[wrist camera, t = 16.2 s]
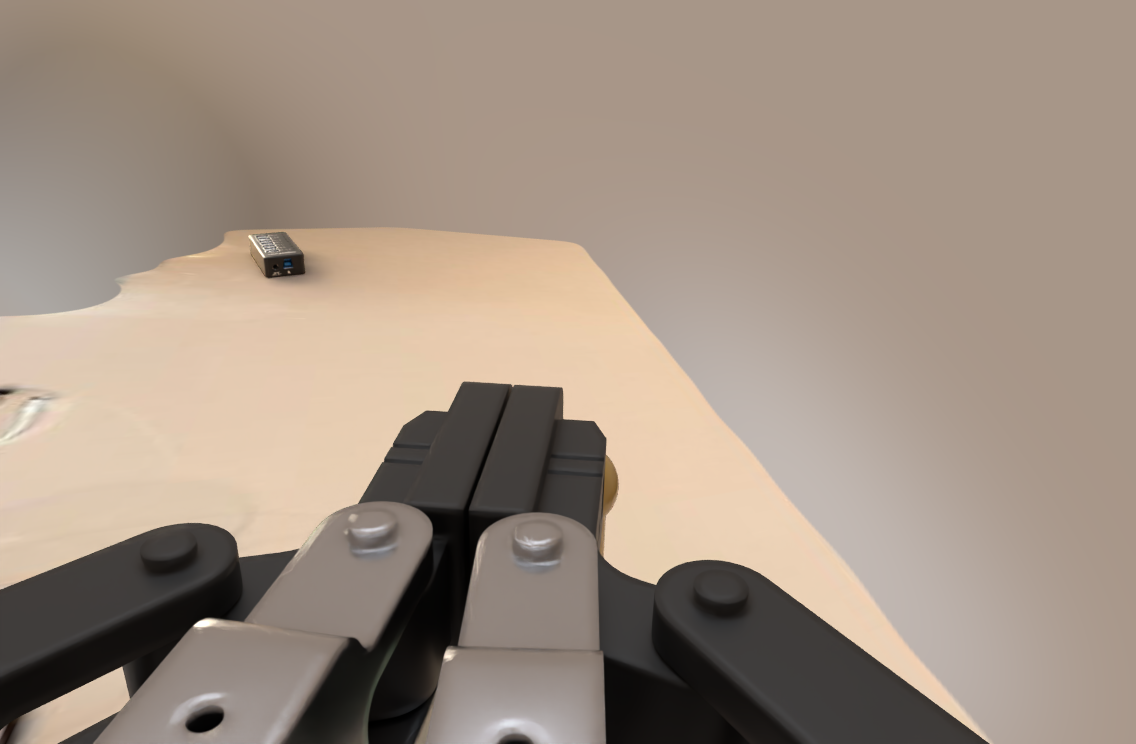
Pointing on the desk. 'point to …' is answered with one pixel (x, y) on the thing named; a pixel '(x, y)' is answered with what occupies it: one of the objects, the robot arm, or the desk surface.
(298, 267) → the multiport hub
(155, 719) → the robot arm
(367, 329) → the desk surface
